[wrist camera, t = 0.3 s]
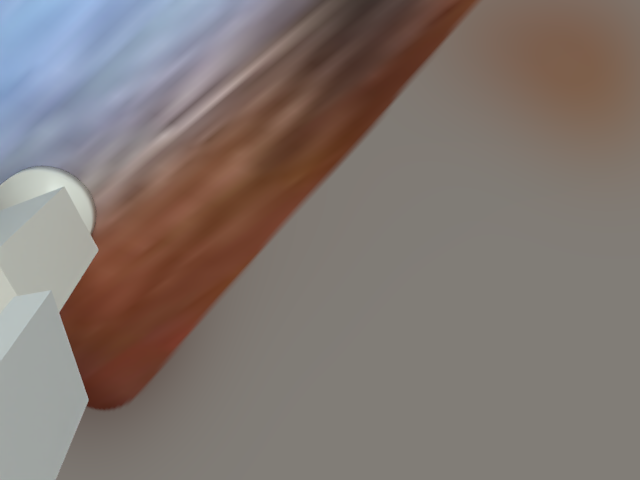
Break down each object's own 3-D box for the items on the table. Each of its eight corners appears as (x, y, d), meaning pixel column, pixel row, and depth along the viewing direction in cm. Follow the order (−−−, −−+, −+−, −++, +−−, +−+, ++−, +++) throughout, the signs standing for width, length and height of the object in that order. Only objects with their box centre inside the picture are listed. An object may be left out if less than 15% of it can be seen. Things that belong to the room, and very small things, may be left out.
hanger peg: (-35, 191, 38) (-214, 304, 23) (83, 146, 38) (-22, 231, 23) (14, 272, 40) (-122, 422, 26) (126, 230, 40) (55, 357, 25)
